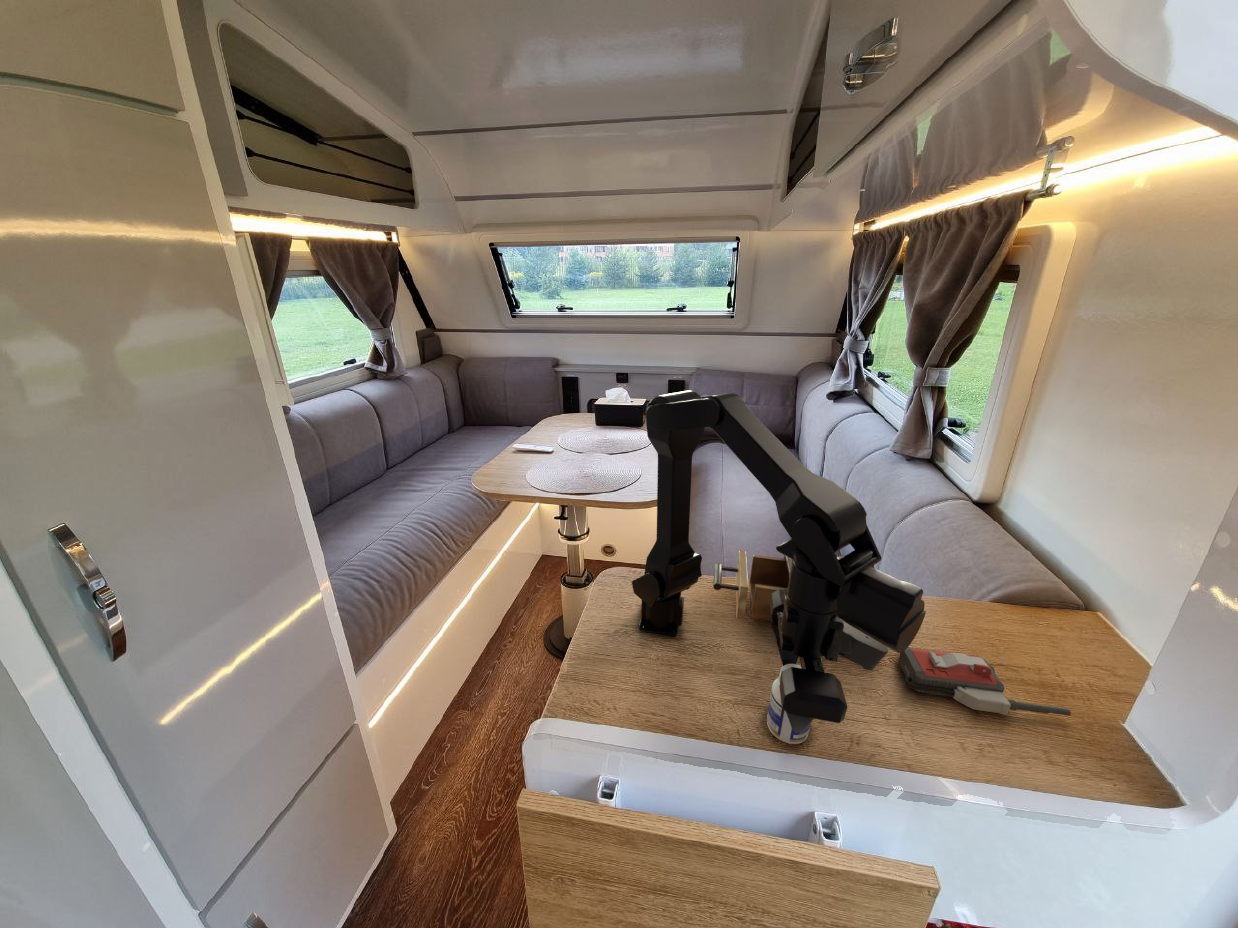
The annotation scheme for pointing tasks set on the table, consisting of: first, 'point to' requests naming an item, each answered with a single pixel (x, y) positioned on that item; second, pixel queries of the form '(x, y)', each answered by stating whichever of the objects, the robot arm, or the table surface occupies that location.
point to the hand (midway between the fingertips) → (792, 698)
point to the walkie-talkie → (962, 681)
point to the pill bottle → (783, 716)
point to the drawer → (755, 583)
